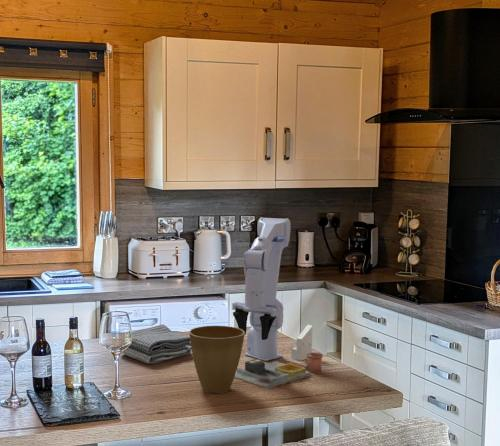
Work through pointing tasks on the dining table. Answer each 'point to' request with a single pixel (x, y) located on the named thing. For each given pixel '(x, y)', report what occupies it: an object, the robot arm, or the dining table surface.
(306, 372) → the panel
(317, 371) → the cap
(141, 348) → the towel
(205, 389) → the plant pot
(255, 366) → the switch
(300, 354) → the white angled block
